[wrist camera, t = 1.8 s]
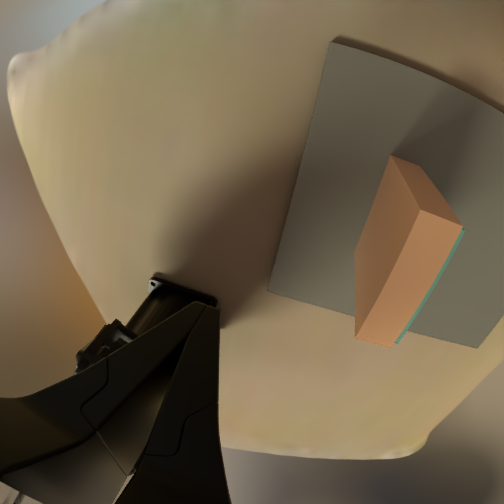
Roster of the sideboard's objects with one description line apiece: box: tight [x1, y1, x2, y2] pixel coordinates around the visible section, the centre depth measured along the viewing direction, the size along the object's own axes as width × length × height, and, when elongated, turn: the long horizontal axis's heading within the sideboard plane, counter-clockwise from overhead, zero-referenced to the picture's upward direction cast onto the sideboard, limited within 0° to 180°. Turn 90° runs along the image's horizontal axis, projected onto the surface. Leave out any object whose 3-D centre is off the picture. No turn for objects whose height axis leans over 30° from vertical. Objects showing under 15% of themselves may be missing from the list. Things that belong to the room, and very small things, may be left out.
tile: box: [354, 155, 465, 348], centre depth 15 cm, size 2×7×8 cm, turn 170°
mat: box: [267, 42, 504, 348], centre depth 19 cm, size 20×18×1 cm
